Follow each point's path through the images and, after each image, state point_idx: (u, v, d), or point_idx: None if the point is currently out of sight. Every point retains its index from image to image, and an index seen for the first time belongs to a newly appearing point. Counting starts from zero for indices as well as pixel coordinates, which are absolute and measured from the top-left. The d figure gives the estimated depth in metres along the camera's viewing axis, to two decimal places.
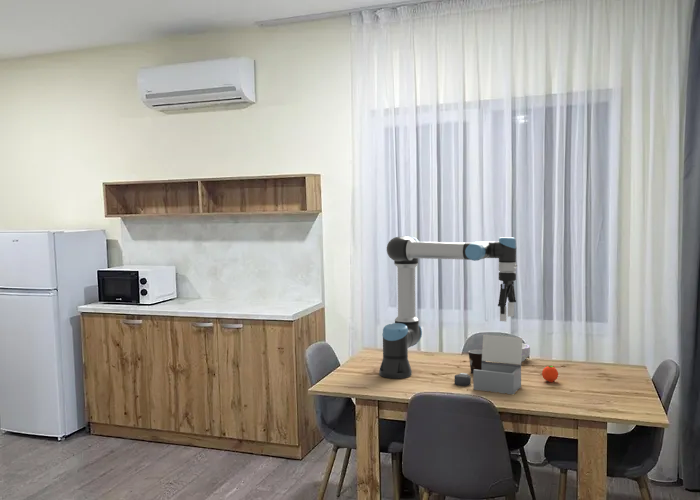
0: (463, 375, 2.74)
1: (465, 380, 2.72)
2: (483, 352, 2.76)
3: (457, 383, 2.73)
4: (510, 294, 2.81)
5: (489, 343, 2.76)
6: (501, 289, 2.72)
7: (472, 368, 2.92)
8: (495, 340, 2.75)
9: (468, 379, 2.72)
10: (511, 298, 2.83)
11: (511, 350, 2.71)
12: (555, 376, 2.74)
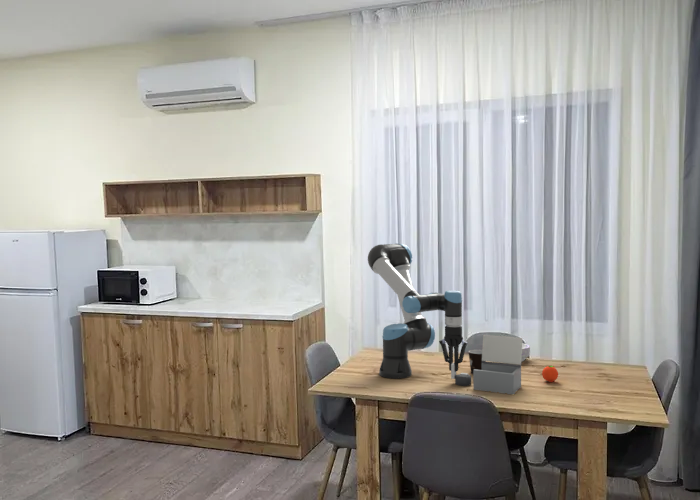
0: (464, 375, 2.74)
1: (466, 380, 2.72)
2: (483, 352, 2.76)
3: (458, 383, 2.73)
4: None
5: (489, 343, 2.76)
6: None
7: (472, 368, 2.92)
8: (495, 340, 2.75)
9: (469, 379, 2.72)
10: None
11: (511, 350, 2.71)
12: (555, 376, 2.74)
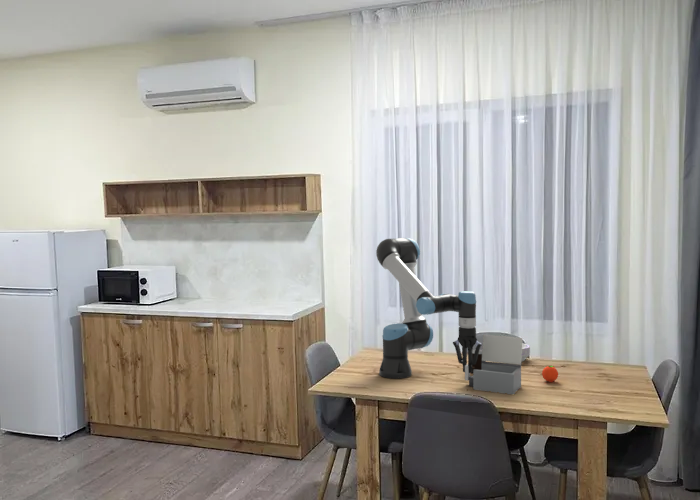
0: None
1: None
2: (483, 352, 2.76)
3: (472, 384, 2.70)
4: None
5: (489, 343, 2.76)
6: None
7: (472, 368, 2.92)
8: (495, 340, 2.75)
9: None
10: None
11: (511, 350, 2.71)
12: (555, 376, 2.74)
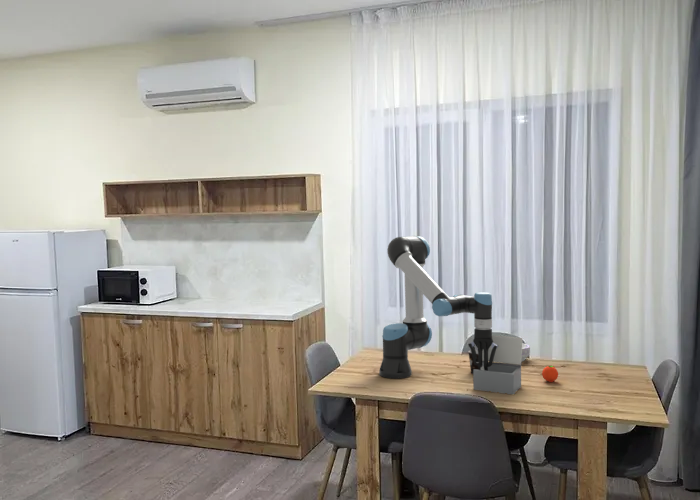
0: None
1: None
2: (483, 352, 2.76)
3: None
4: None
5: None
6: None
7: (472, 368, 2.92)
8: (495, 340, 2.75)
9: None
10: None
11: (511, 350, 2.71)
12: (555, 376, 2.74)
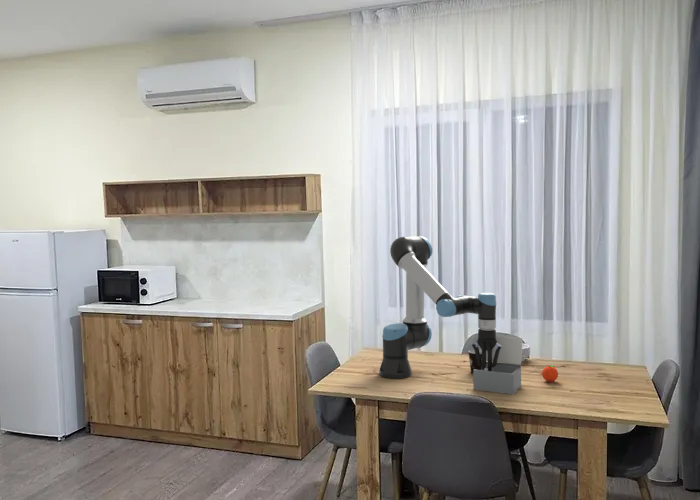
0: None
1: None
2: None
3: None
4: None
5: None
6: None
7: (472, 368, 2.92)
8: None
9: None
10: None
11: (511, 350, 2.71)
12: (555, 376, 2.74)
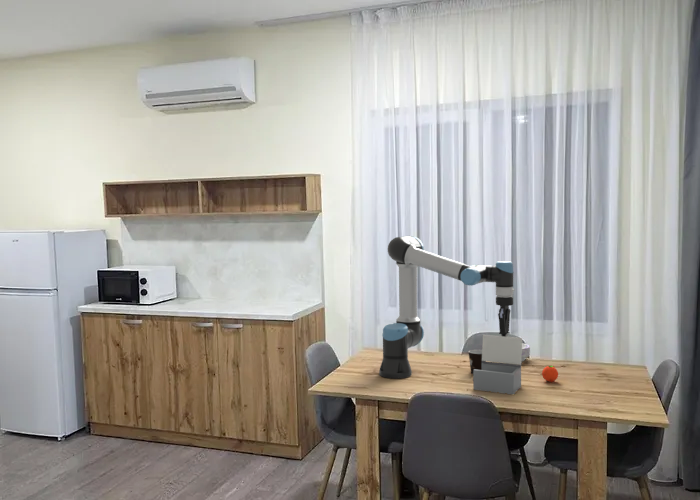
0: None
1: None
2: (483, 352, 2.76)
3: None
4: None
5: (488, 343, 2.76)
6: (499, 319, 2.72)
7: (472, 368, 2.92)
8: (495, 340, 2.74)
9: None
10: None
11: (511, 350, 2.71)
12: (555, 376, 2.74)
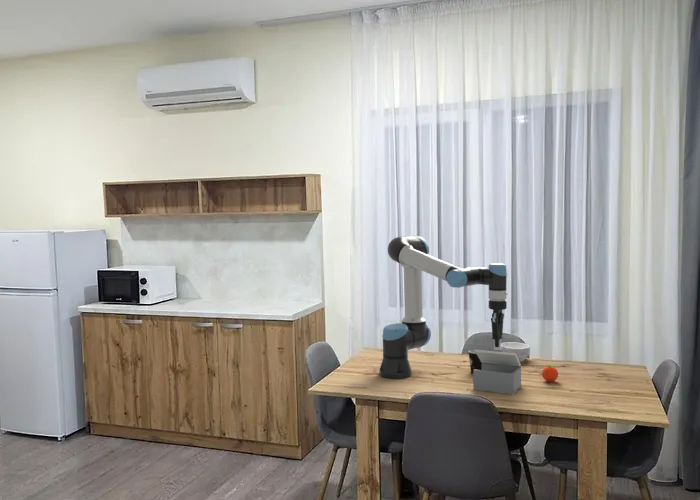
0: None
1: None
2: (480, 359, 2.73)
3: None
4: None
5: (483, 355, 2.69)
6: (492, 323, 2.62)
7: (472, 368, 2.92)
8: (489, 354, 2.66)
9: None
10: None
11: (507, 360, 2.66)
12: (555, 376, 2.74)
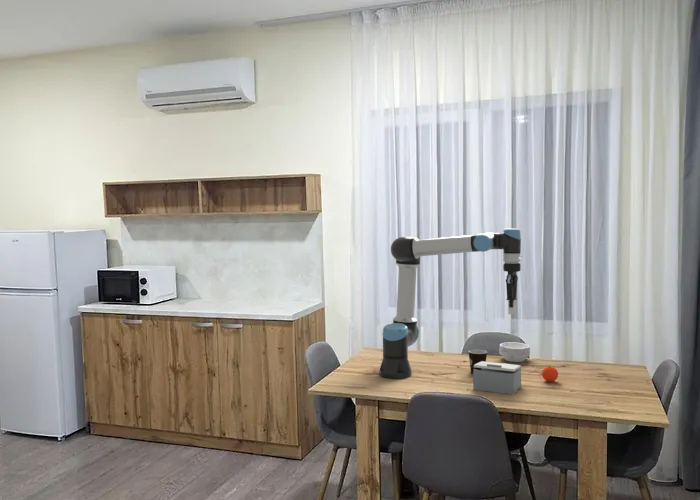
0: None
1: None
2: None
3: None
4: None
5: None
6: (507, 284, 2.77)
7: (472, 368, 2.92)
8: None
9: None
10: None
11: None
12: (555, 376, 2.74)
